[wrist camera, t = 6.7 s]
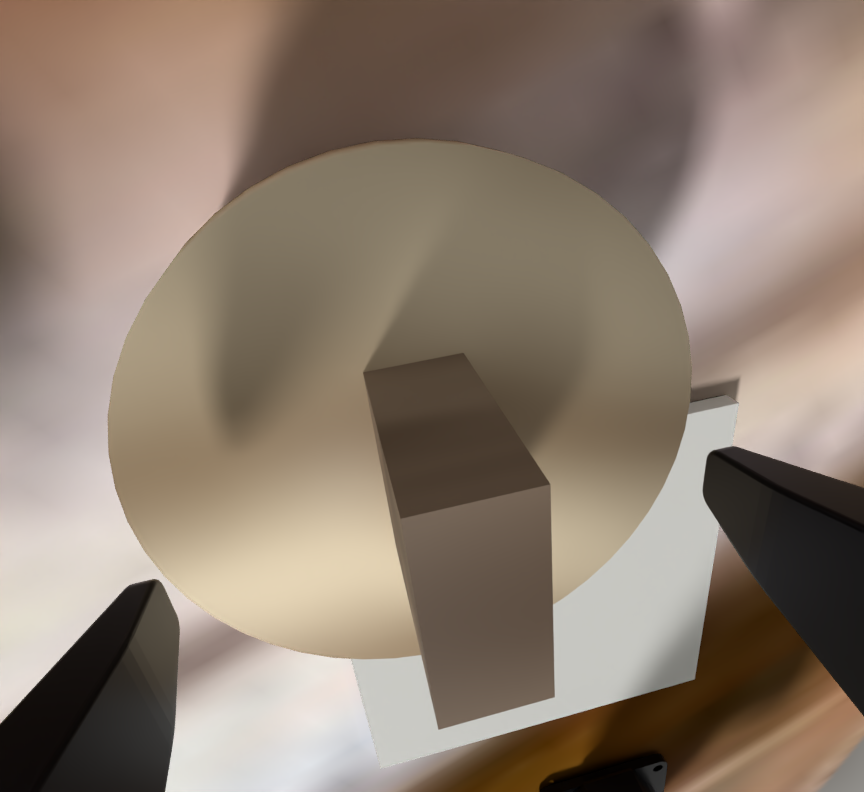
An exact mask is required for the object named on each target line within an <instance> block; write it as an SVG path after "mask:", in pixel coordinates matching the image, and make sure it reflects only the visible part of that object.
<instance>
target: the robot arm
mask: <svg viewBox="0 0 864 792" xmlns="http://www.w3.org/2000/svg"><path fill="white" fill-rule="evenodd" d="M702 491H703V497H704V500H705V502H706V504H707V506H708V508H709V509H710V511H711V512H712V514H713V515H714V517H715V518H716V520H717V521H718V523H719V525H720V526H721V528H722V529H723V531H724V532H725V534H726V535H727V537H728V539H729V540H730V542H731V543H732V545H733V546H734V548H735V549H736V551H737V553H738V554H739V556H740V557H741V559H742V560H743V562H744V563H745V565H746V567H747V568H748V569H749V571H750V572H751V574H752V575H753V577H754V578H755V579H756V581H757V582H758V583H759V585H760V586H761V587H762V589H763V590H764V591H765V593H766V594H767V595H768V596H769V598H770V599H771V600H772V601H773V603H774V604H775V605H776V606H777V608H778V609H779V610H780V611H781V613H782V614H783V615H784V616H785V618H786V619H787V620H788V621H789V623H790V624H791V625H792V627H793V628H794V629H795V630H796V632H797V633H798V634H799V635H800V637H801V638H802V639H803V640H804V642H805V643H806V644H807V645H808V647H809V648H810V649H811V650H812V652H813V653H814V654H815V655H816V657H817V658H818V659H819V660H820V662H821V663H822V664H823V666H824V667H825V668H826V669H827V671H828V672H829V673H830V674H831V676H832V677H833V678H834V679H835V681H836V682H837V683H838V684H839V686H840V687H841V688H842V689H843V691H844V692H845V693H846V694H847V696H848V697H849V698H850V699H851V701H852V702H853V703H854V704H855V706H856V707H857V708H858V710H859V711H860V712H861V713H862V715H863V716H864V488H862V487H859V486H856V485H853V484H850V483H847V482H844V481H841V480H837V479H834V478H831V477H828V476H825V475H822V474H819V473H816V472H813V471H810V470H807V469H804V468H800V467H797V466H794V465H791V464H788V463H785V462H782V461H779V460H776V459H773V458H770V457H766V456H763V455H760V454H757V453H754V452H751V451H748V450H745V449H742V448H739V447H735V446H730V447H725V448H721V449H716V450H713V451H711V452H710V453H709V454H708V456H707V459H706V466H705V473H704V481H703V489H702ZM179 635H180V629H179V621H178V617H177V614H176V612H175V610H174V608H173V606H172V604H171V601H170V599H169V597H168V595H167V593H166V591H165V588H164V586H163V585H162V583H161V582H160V581H159V580H156V579H152V580H148V581H143V582H139V583H135V584H132V585H129V586H128V587H127V588H126V589H124V590H123V592H122V593H121V594H120V595H119V596H118V597H117V598H116V599H115V600H114V601H113V602H112V603H111V605H110V606H109V607H108V608H107V609H106V610H105V611H104V612H103V613H102V614H101V615H100V616H99V618H98V619H97V620H96V621H95V622H94V623H93V624H92V625H91V626H90V627H89V628H88V629H87V631H86V632H85V633H84V634H83V635H82V636H81V637H80V638H79V639H78V640H77V641H76V642H75V644H74V645H73V646H72V647H71V648H70V649H69V650H68V651H67V652H66V653H65V654H64V655H63V657H62V658H61V659H60V660H59V661H58V662H57V663H56V664H55V665H54V666H53V667H52V668H51V670H50V671H49V672H48V673H47V674H46V675H45V676H44V677H43V678H42V679H41V680H40V681H39V683H38V684H37V685H36V686H35V687H34V688H33V689H32V690H31V691H30V692H29V693H28V694H27V696H26V697H25V698H24V699H23V700H22V701H21V702H20V703H19V704H18V705H17V706H16V707H15V708H14V710H13V711H12V712H11V713H10V714H9V715H8V716H7V717H6V718H5V719H4V720H3V721H2V723H1V724H0V792H165V788H166V782H167V776H168V770H169V764H170V758H171V751H172V745H173V737H174V729H175V715H176V696H177V675H178V655H179ZM666 772H667V762H666V761H665V759H664V757H663V755H661V754H654V755H650V756H647V757H644V758H640V759H637V760H634V761H630V762H627V763H624V764H620V765H617V766H614V767H610V768H607V769H604V770H600V771H597V772H594V773H590V774H587V775H584V776H580V777H577V778H574V779H570V780H567V781H564V782H561V783H557V784H554V785H551V786H547V787H545V788H543V789H542V790H541V791H540V792H664V786H665V779H666Z"/></svg>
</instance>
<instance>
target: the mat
mask: <svg viewBox="0 0 864 792" xmlns="http://www.w3.org/2000/svg"><path fill="white" fill-rule="evenodd" d="M738 406H739V403H738V402H737V401H735V400H734V399H732V398H731V397H729V396H728V395H724V396H719V397H715V398H710V399H705V400H701V401H696V402H692V403H690V404H689V410H688V415H687V421H686V426H685V431H684V434H683V437H682V441H681V444H680V447H679V450H678V453H677V457H676V459H675V462H674V464H673V466H672V468H671V471H670V473H669V475H668V477H667V480H666V482H665V484H664V486H663V488H662V490H661V491H660V493H659V495H658V497H657V498H656V500H655V502H654V503H653V505H652V507H651V509H650V510H649V512H648V513H647V515H646V516H645V518H644V519H643V520H642V522H641V523H640V524H639V526H638V527H637V528H636V530H635V531H634V532H633V534H632V535H631V537H630V538H629V539H628V540H627V541H626V542H625V543H624V544H623V545H622V547H621V548H620V549H619V550H618V551H617V552H616V553H615V554H614V555H613V557H612V558H611V559H610V560H609V561H608V562H607V563H605V564H604V565H603V566H602V567H601V568H600V569H599V570H598V571H597V572H596V573H595V574H593V575H592V576H591V577H590V578H589V579H588V580H587V581H585V582H584V583H583V584H581V585H580V586H579V587H577V588H576V589H575V590H574V591H572V592H571V593H570V594H568V595H567V596H566V597H564V598H563V599H561V600H560V601H558V602H556V603H555V604H553V631H554V681H555V697H554V698H550V699H547V700H543V701H540V702H536V703H533V704H529V705H526V706H522V707H518V708H515V709H511V710H508V711H504V712H501V713H497V714H494V715H490V716H486V717H483V718H479V719H476V720H472V721H469V722H465V723H462V724H458V725H454V726H451V727H447V728H444V729H440V730H438V726H437V722H436V717H435V713H434V709H433V704H432V700H431V696H430V691H429V687H428V683H427V678H426V674H425V670H424V665H423V661H422V657H421V655H417V656H409V657H401V658H391V659H351V661H352V665H353V669H354V672H355V676H356V680H357V683H358V687H359V691H360V694H361V698H362V702H363V706H364V709H365V713H366V717H367V720H368V724H369V728H370V731H371V735H372V739H373V742H374V746H375V750H376V754H377V757H378V761H379V765H380V768H381V769H383V768H386V767H390V766H393V765H397V764H400V763H404V762H407V761H411V760H414V759H418V758H421V757H425V756H428V755H432V754H435V753H439V752H442V751H446V750H449V749H453V748H456V747H460V746H463V745H467V744H470V743H474V742H477V741H481V740H484V739H488V738H491V737H495V736H498V735H502V734H505V733H509V732H512V731H516V730H519V729H523V728H526V727H530V726H533V725H537V724H540V723H544V722H547V721H551V720H554V719H558V718H561V717H565V716H568V715H572V714H575V713H579V712H582V711H586V710H589V709H593V708H596V707H600V706H603V705H607V704H610V703H614V702H617V701H621V700H624V699H628V698H631V697H635V696H638V695H642V694H645V693H649V692H652V691H656V690H659V689H663V688H666V687H670V686H673V685H677V684H680V683H684V682H687V681H691V680H694V679H695V674H696V668H697V662H698V655H699V649H700V643H701V637H702V630H703V624H704V618H705V612H706V605H707V599H708V593H709V587H710V581H711V574H712V568H713V562H714V556H715V549H716V543H717V537H718V531H719V523H718V521H717V520H716V518H715V517H714V515H713V514H712V512H711V511H710V509H709V508H708V506H707V504H706V502H705V500H704V497H703V491H702V489H703V481H704V473H705V466H706V459H707V456H708V454H709V453H710V452H711V451H713V450H716V449H721V448H725V447H730V446H732V443H733V437H734V431H735V425H736V418H737V412H738Z"/></svg>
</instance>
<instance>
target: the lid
mask: <svg viewBox="0 0 864 792" xmlns="http://www.w3.org/2000/svg"><path fill="white" fill-rule="evenodd" d="M691 373H692V366H691V356H690V345H689V336H688V332H687V328H686V324H685V320H684V316H683V312H682V308H681V304H680V302H679V300H678V297H677V295H676V292H675V290H674V288H673V285H672V283H671V281H670V278H669V276H668V274H667V272H666V271H665V269H664V267H663V266H662V264H661V263H660V261H659V259H658V258H657V256H656V255H655V253H654V251H653V250H652V248H651V247H650V245H649V244H648V243H647V241H646V240H645V239H644V238H643V237H642V236H641V235H640V233H639V232H638V231H637V230H636V229H635V228H634V227H633V225H632V224H631V223H630V222H629V221H628V220H627V219H626V217H624V216H623V215H622V214H621V213H620V212H618V211H617V210H616V209H615V208H614V207H612V206H611V205H610V204H609V203H607V202H606V201H605V200H604V199H603V198H601V197H600V196H599V195H598V194H597V193H595V192H593V191H592V190H590V189H588V188H587V187H585V186H583V185H582V184H580V183H578V182H576V181H575V180H573V179H571V178H570V177H568V176H566V175H564V174H563V173H561V172H559V171H556V170H553V169H551V168H548V167H546V166H543V165H541V164H538V163H536V162H533V161H531V160H528V159H525V158H523V157H520V156H516V155H513V154H509V153H506V152H502V151H499V150H494V149H490V148H485V147H481V146H477V145H472V144H468V143H463V142H459V141H447V140H434V139H420V138H412V139H398V140H383V141H372V142H367V143H363V144H358V145H353V146H349V147H344V148H340V149H335V150H330V151H328V152H325V153H322V154H320V155H317V156H314V157H312V158H309V159H306V160H304V161H301V162H298V163H295V164H293V165H290V166H288V167H286V168H284V169H282V170H280V171H279V172H277V173H275V174H273V175H271V176H269V177H268V178H266V179H264V180H262V181H260V182H259V183H257V184H255V185H253V186H251V187H249V188H248V189H247V190H245V191H244V192H243V193H242V194H240V195H239V196H238V197H236V198H235V199H234V200H232V201H231V202H230V203H228V204H227V205H226V206H224V207H223V208H222V209H220V210H219V211H218V212H216V213H215V214H214V215H213V216H212V217H211V218H210V219H209V220H208V221H207V222H206V223H205V224H204V225H203V226H202V227H201V228H200V229H199V230H198V231H197V232H196V233H195V234H194V235H193V236H192V237H191V238H190V239H189V240H188V241H187V242H186V243H185V245H184V246H183V247H182V249H181V250H180V252H179V253H178V254H177V256H176V257H175V258H174V260H173V261H172V263H171V264H170V265H169V267H168V268H167V269H166V271H165V272H164V274H163V275H162V276H161V278H160V279H159V281H158V282H157V283H156V285H155V286H154V288H153V289H152V291H151V292H150V293H149V295H148V296H147V298H146V299H145V301H144V303H143V305H142V307H141V309H140V311H139V313H138V315H137V317H136V319H135V321H134V323H133V325H132V327H131V329H130V331H129V333H128V335H127V337H126V339H125V342H124V345H123V348H122V352H121V355H120V358H119V361H118V364H117V367H116V370H115V373H114V377H113V383H112V390H111V397H110V404H109V411H108V448H109V458H110V463H111V468H112V474H113V479H114V484H115V489H116V492H117V494H118V497H119V500H120V502H121V505H122V508H123V510H124V513H125V516H126V518H127V521H128V523H129V525H130V527H131V528H132V530H133V532H134V534H135V535H136V537H137V539H138V541H139V542H140V544H141V546H142V548H143V549H144V551H145V552H146V554H147V555H148V556H149V557H150V559H151V560H152V561H153V562H154V564H155V565H156V566H157V567H158V569H159V570H160V571H161V573H162V574H163V575H164V576H165V577H166V578H167V579H168V580H169V581H170V582H171V583H172V584H173V585H174V586H175V587H176V588H177V589H178V590H179V591H180V592H182V593H183V594H184V595H185V596H186V597H187V598H188V599H189V600H191V601H192V602H193V603H195V604H196V605H198V606H199V607H200V608H202V609H203V610H204V611H206V612H207V613H209V614H210V615H211V616H213V617H214V618H216V619H218V620H220V621H222V622H223V623H225V624H227V625H229V626H231V627H233V628H235V629H236V630H238V631H240V632H242V633H244V634H247V635H249V636H252V637H255V638H257V639H260V640H262V641H265V642H267V643H270V644H272V645H276V646H280V647H283V648H287V649H291V650H294V651H298V652H302V653H308V654H314V655H320V656H326V657H333V658H349V659H391V658H401V657H409V656H417V655H421V657H422V661H423V665H424V670H425V674H426V678H427V683H428V687H429V691H430V696H431V700H432V704H433V709H434V713H435V717H436V722H437V726H438V730H440V729H444V728H447V727H451V726H454V725H458V724H462V723H465V722H469V721H472V720H476V719H479V718H483V717H486V716H490V715H494V714H497V713H501V712H504V711H508V710H511V709H515V708H518V707H522V706H526V705H529V704H533V703H536V702H540V701H543V700H547V699H550V698H554V697H555V681H554V631H553V604H555V603H556V602H558V601H560V600H561V599H563V598H564V597H566V596H567V595H568V594H570V593H571V592H572V591H574V590H575V589H576V588H577V587H579V586H580V585H581V584H583V583H584V582H585V581H587V580H588V579H589V578H590V577H591V576H592V575H593V574H595V573H596V572H597V571H598V570H599V569H600V568H601V567H602V566H603V565H604V564H605V563H607V562H608V561H609V560H610V559H611V558H612V557H613V555H614V554H615V553H616V552H617V551H618V550H619V549H620V548H621V547H622V545H623V544H624V543H625V542H626V541H627V540H628V539H629V538H630V537H631V535H632V534H633V532H634V531H635V530H636V528H637V527H638V526H639V524H640V523H641V522H642V520H643V519H644V518H645V516H646V515H647V513H648V512H649V510H650V509H651V507H652V505H653V503H654V502H655V500H656V498H657V497H658V495H659V493H660V491H661V490H662V488H663V486H664V484H665V482H666V480H667V477H668V475H669V473H670V471H671V468H672V466H673V464H674V462H675V459H676V457H677V453H678V450H679V447H680V444H681V441H682V437H683V434H684V431H685V426H686V421H687V415H688V410H689V404H690V396H691Z"/></svg>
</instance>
